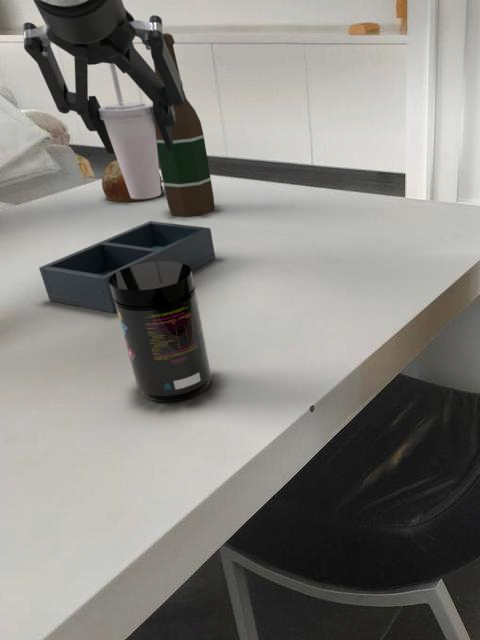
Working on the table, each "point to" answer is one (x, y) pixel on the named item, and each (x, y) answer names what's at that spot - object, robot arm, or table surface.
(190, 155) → the beer bottle
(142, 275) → the supplement container
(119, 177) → the bread roll
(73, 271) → the compartment tray
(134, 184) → the smoothie
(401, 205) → the table surface
